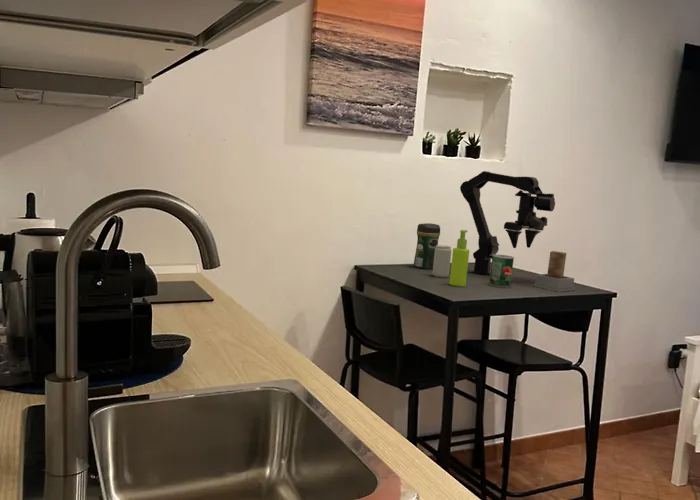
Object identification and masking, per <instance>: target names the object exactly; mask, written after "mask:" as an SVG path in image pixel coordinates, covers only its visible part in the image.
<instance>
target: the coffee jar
mask: <svg viewBox="0 0 700 500" xmlns="http://www.w3.org/2000/svg"><path fill="white" fill-rule="evenodd" d="M416 235H417V236H416V237H417V243H416V250H415V254H414V259H413V267H415V268H417V269H420V268H421V269H423V270H425V269H426V270H428V269H429V270H430V269H431V270H433V263H434V253H435V248H436V245H439V238H440V237H441V226H440V225H439V224H436V223H426V222H425V223H418V225H417V229H416Z"/></svg>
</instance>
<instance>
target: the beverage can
mask: <svg viewBox="0 0 700 500" xmlns="http://www.w3.org/2000/svg"><path fill="white" fill-rule="evenodd" d="M452 252H453V249H452V246H450V245H445V244H444V245H443V244H438V245H436V248H435V253H434V263H433V269H432V275H433V277H437V278H447V277H450V271H451V262H452Z"/></svg>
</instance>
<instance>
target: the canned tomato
mask: <svg viewBox="0 0 700 500" xmlns="http://www.w3.org/2000/svg"><path fill="white" fill-rule="evenodd" d="M514 259H515V257H514V256H511V255H506V254H505V255H504V254H495V255H492V259H491V266H490V274H489V281H488V284H489V286H493V287H498V288H510V287H511V283H512V275H513V267H514Z"/></svg>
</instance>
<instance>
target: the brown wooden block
mask: <svg viewBox="0 0 700 500" xmlns="http://www.w3.org/2000/svg"><path fill="white" fill-rule="evenodd" d="M566 258H567V252H564V251H563V252H562V251H557V250H551V251H550V252H549V259H548V267H547V273H546V274H547V276H548V277H552V278H557V279H563V276H565V267H566V261H567V260H566Z"/></svg>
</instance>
